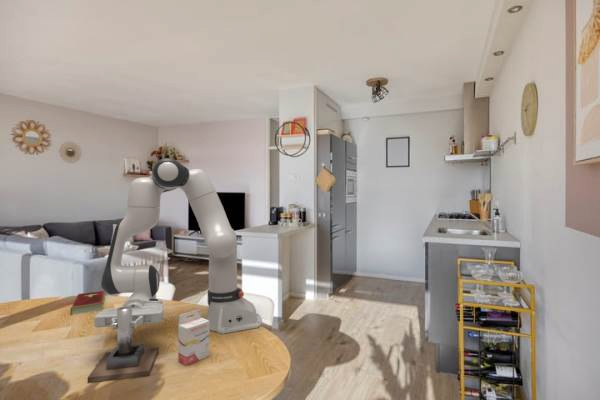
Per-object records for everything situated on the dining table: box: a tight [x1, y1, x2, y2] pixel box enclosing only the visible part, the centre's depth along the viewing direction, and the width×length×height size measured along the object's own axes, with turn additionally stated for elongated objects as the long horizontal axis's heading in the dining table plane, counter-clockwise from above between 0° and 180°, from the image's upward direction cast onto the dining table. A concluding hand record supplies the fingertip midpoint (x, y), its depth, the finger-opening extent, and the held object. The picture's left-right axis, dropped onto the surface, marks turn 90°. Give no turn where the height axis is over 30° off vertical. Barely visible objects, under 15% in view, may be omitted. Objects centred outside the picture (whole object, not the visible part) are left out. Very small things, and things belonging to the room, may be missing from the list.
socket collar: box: [106, 343, 145, 370], centre depth 103 cm, size 8×8×3 cm
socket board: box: [86, 346, 160, 384], centre depth 103 cm, size 16×15×2 cm
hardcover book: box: [70, 290, 107, 316], centre depth 157 cm, size 12×21×4 cm, turn 27°
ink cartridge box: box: [177, 308, 210, 367], centre depth 107 cm, size 9×5×15 cm, turn 141°
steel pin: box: [116, 306, 133, 354], centre depth 103 cm, size 4×4×13 cm
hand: (123, 325), depth 102 cm, fingers closed on steel pin, 4 cm apart
